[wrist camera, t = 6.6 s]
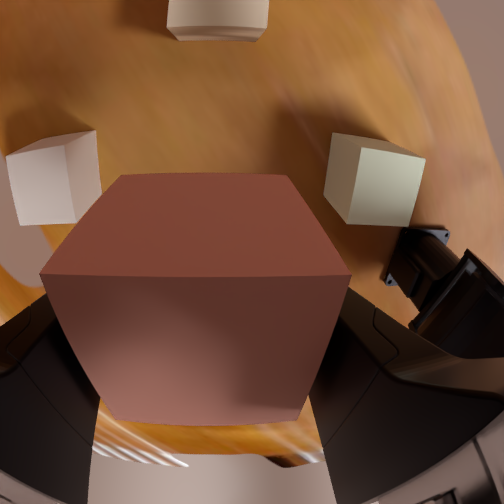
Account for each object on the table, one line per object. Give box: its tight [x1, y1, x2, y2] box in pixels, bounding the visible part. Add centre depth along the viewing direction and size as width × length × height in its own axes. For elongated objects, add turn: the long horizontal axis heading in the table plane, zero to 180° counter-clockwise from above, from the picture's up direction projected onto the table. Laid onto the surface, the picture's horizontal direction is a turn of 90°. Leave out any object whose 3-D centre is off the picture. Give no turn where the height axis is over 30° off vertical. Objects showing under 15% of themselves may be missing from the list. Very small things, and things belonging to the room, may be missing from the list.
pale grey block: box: [6, 130, 102, 226], centre depth 16 cm, size 5×5×5 cm
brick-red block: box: [39, 173, 352, 426], centre depth 8 cm, size 5×5×5 cm
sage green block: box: [323, 132, 426, 227], centre depth 19 cm, size 5×5×5 cm
